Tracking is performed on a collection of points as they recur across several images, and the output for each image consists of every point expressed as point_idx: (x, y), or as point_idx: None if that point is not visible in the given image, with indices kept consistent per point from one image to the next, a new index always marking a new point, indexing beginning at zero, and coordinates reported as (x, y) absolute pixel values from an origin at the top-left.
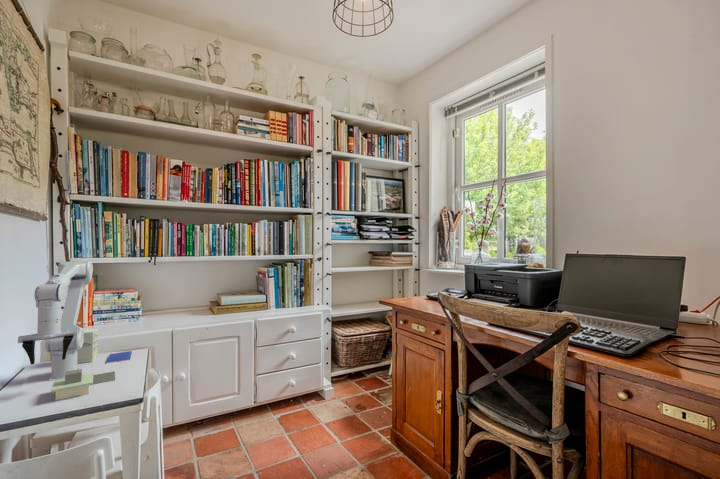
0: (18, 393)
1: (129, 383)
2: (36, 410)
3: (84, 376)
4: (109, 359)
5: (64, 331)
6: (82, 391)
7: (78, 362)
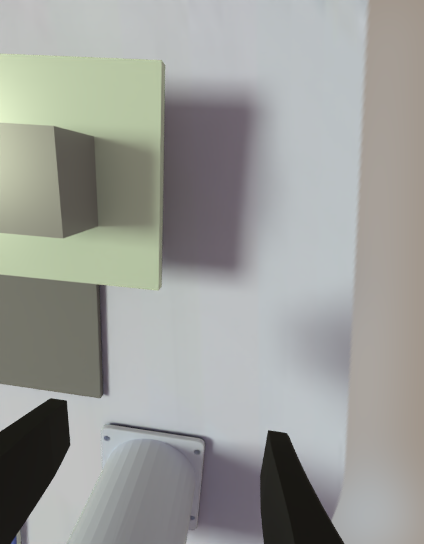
0: (307, 375)
1: None
2: (239, 26)
3: (10, 239)
4: None
5: None
6: None
7: None
